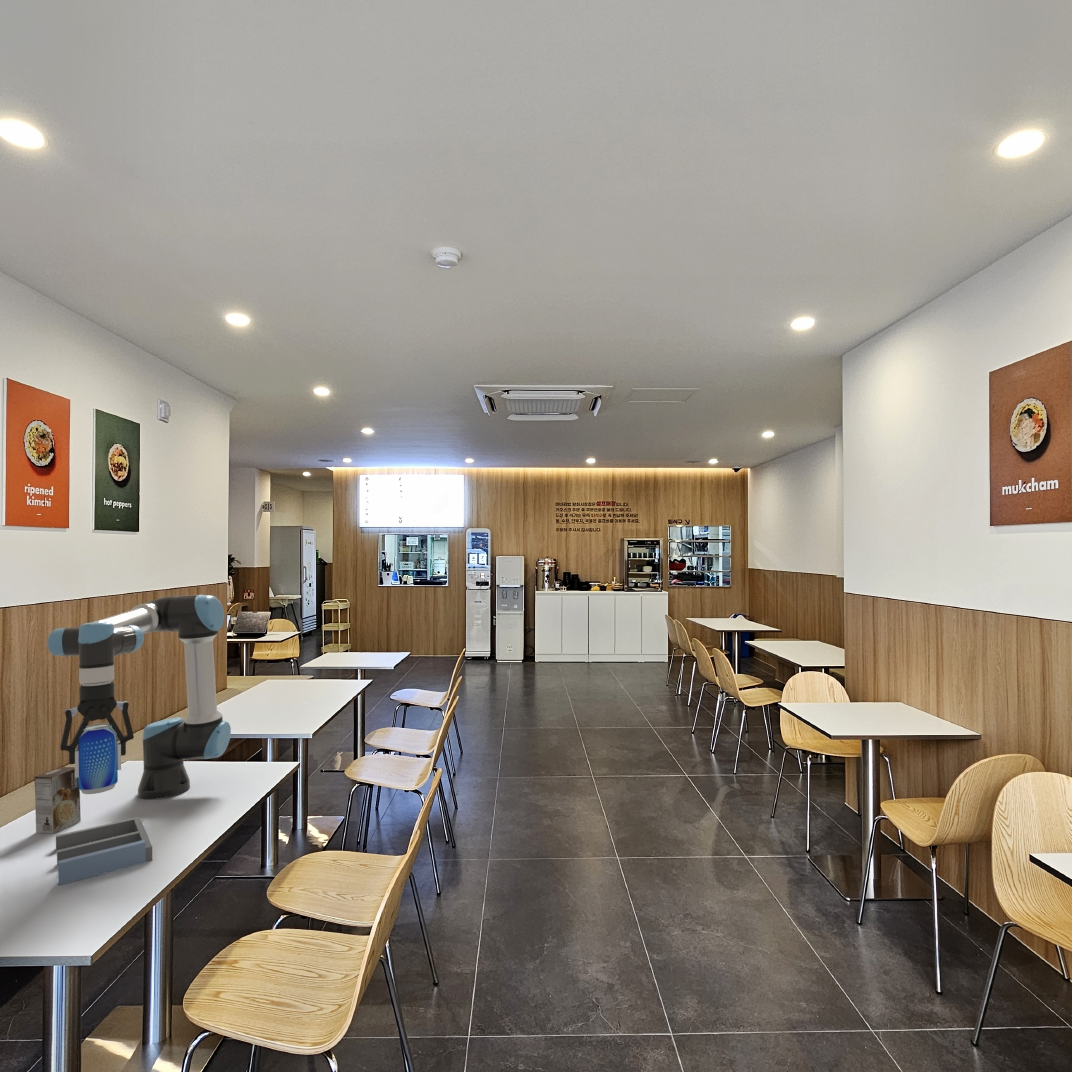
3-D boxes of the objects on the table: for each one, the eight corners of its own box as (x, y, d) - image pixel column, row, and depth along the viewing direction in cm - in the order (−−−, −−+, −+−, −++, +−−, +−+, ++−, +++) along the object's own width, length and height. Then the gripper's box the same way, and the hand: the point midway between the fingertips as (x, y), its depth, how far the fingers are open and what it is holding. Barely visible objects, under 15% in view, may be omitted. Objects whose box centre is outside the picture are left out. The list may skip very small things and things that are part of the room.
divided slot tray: (139, 828, 193) (139, 811, 193) (152, 860, 172) (152, 840, 172) (55, 848, 181) (55, 829, 181) (58, 885, 160) (58, 863, 160)
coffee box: (63, 820, 202) (62, 766, 202) (81, 821, 200) (80, 766, 201) (34, 833, 193) (33, 776, 193) (53, 834, 191) (52, 777, 192)
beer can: (76, 797, 167) (75, 732, 167) (81, 787, 174) (80, 725, 175) (116, 791, 170) (115, 727, 171) (119, 781, 178) (118, 720, 178)
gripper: (142, 675, 182) (144, 760, 182) (46, 686, 170) (47, 778, 169) (146, 679, 176) (147, 767, 176) (46, 691, 164) (47, 785, 163)
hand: (98, 772), depth 172 cm, fingers closed on beer can, 8 cm apart
